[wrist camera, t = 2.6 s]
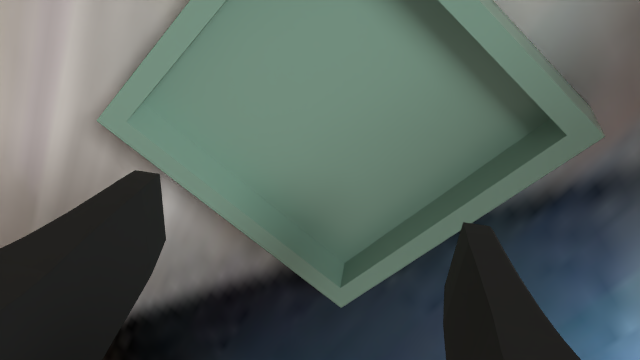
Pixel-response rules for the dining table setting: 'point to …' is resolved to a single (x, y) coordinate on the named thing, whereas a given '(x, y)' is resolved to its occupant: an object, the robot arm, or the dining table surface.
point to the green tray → (350, 124)
